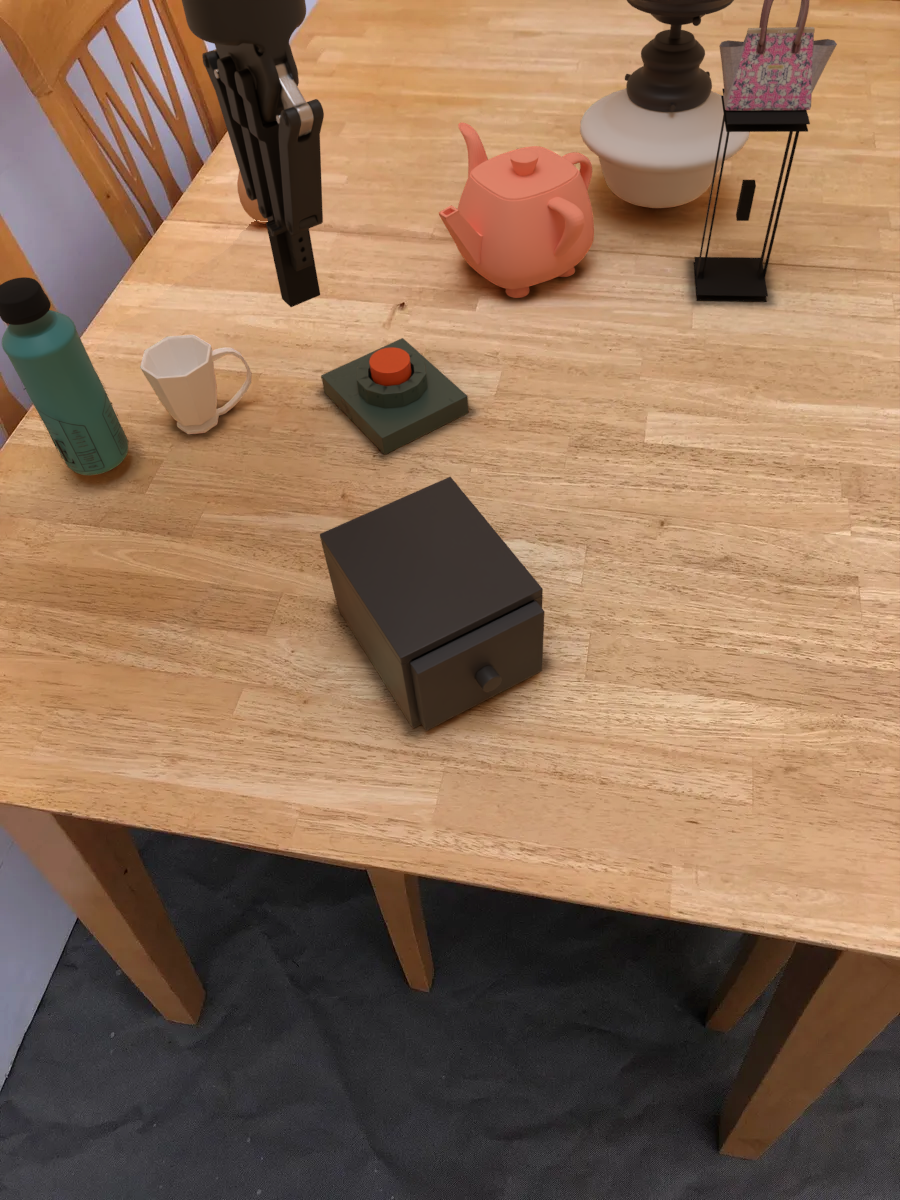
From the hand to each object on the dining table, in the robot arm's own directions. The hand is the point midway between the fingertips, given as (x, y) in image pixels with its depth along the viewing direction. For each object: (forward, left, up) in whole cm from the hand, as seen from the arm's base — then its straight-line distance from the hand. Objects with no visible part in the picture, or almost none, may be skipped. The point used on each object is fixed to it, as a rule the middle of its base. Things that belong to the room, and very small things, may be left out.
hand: (301, 296), depth 74 cm
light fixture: (-17, +56, -19) cm, 61 cm away
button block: (-5, +10, -19) cm, 22 cm away
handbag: (+1, +51, -19) cm, 54 cm away
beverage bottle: (-15, -18, -19) cm, 30 cm away
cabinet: (+22, -3, -19) cm, 29 cm away
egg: (-45, +16, -19) cm, 51 cm away
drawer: (+24, -4, -18) cm, 31 cm away
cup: (-15, -6, -19) cm, 25 cm away
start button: (-5, +10, -16) cm, 19 cm away
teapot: (-17, +34, -19) cm, 42 cm away
